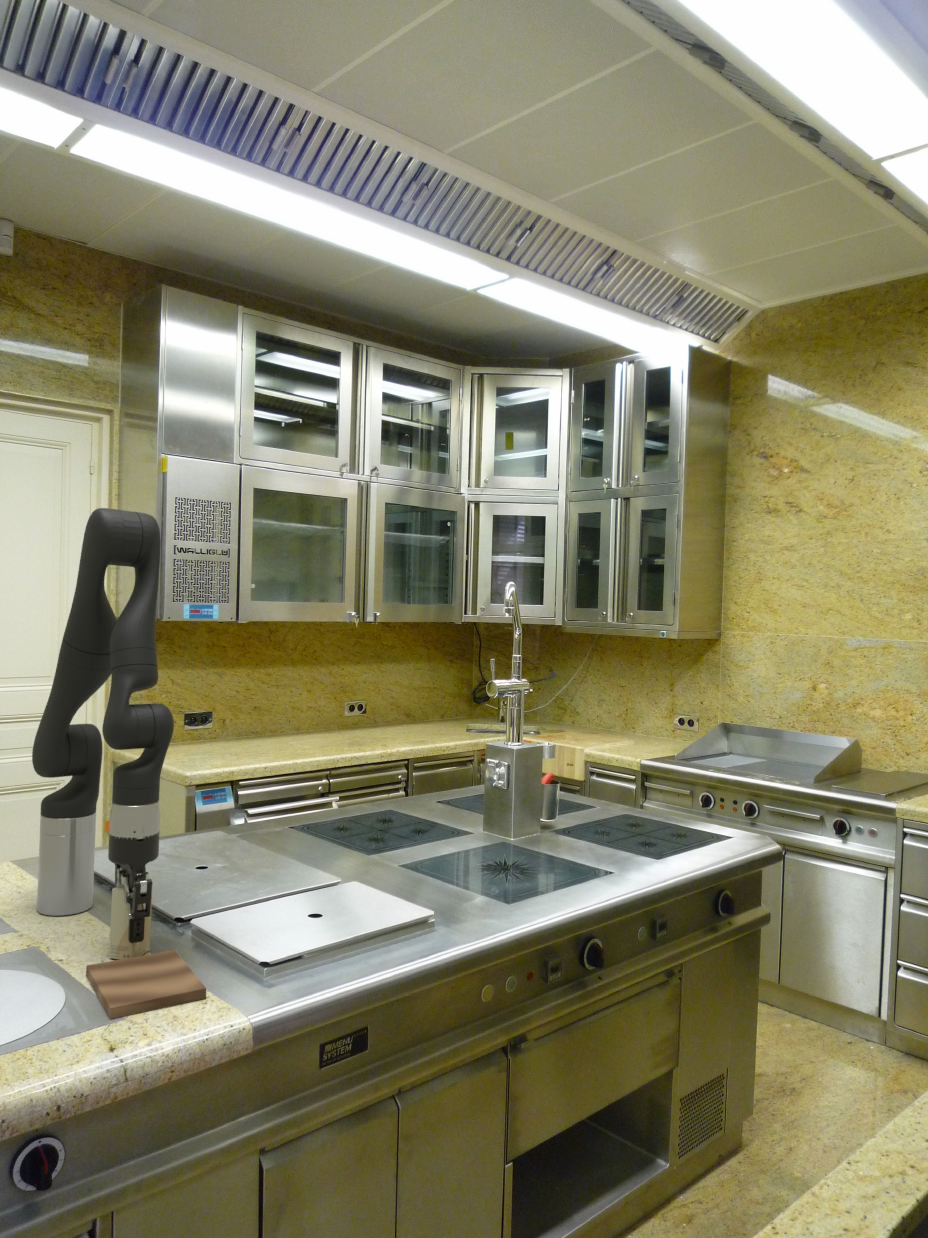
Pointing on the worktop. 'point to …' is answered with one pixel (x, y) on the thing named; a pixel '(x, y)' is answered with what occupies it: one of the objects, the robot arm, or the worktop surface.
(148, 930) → the box
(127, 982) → the board
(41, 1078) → the worktop surface
